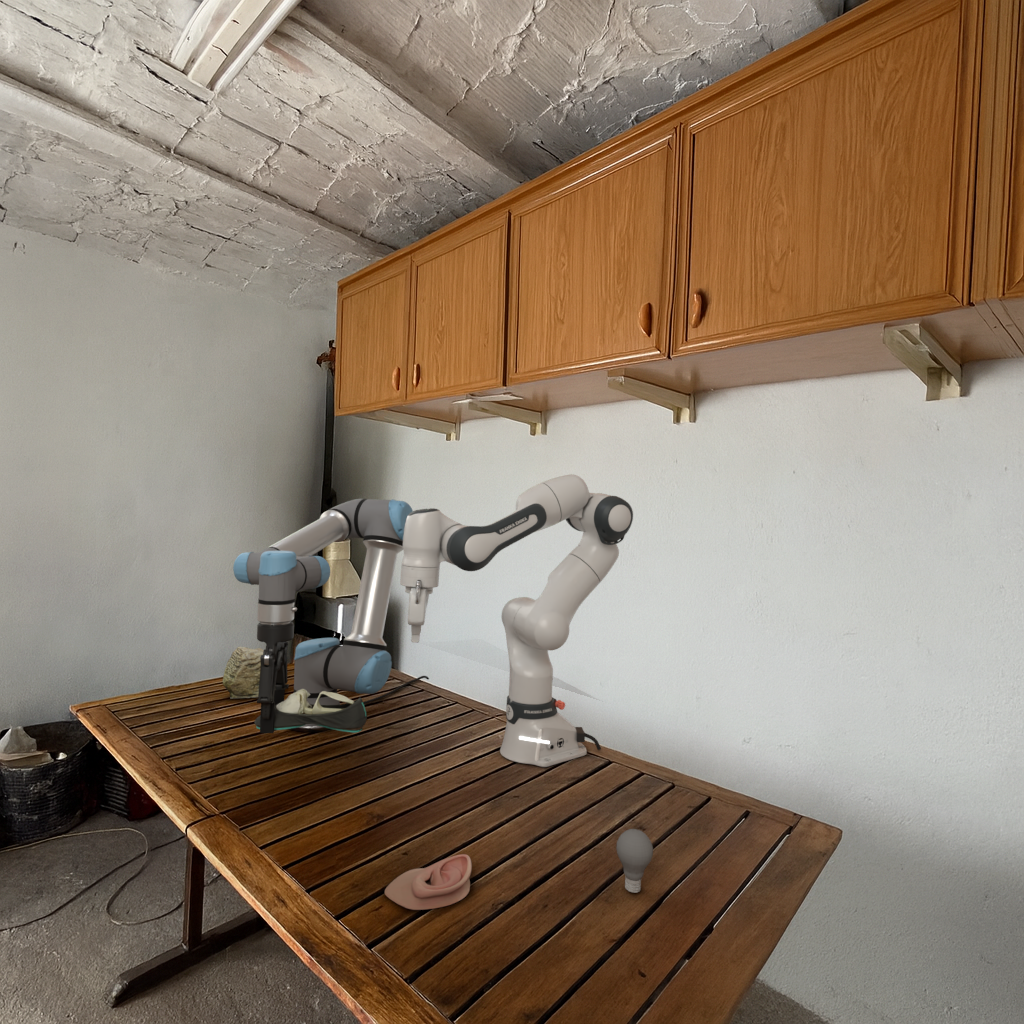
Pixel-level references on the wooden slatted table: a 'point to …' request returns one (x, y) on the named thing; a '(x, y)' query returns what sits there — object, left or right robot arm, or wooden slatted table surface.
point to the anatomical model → (432, 884)
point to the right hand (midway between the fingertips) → (416, 637)
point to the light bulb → (634, 857)
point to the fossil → (243, 673)
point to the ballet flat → (319, 713)
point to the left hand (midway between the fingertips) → (272, 725)
